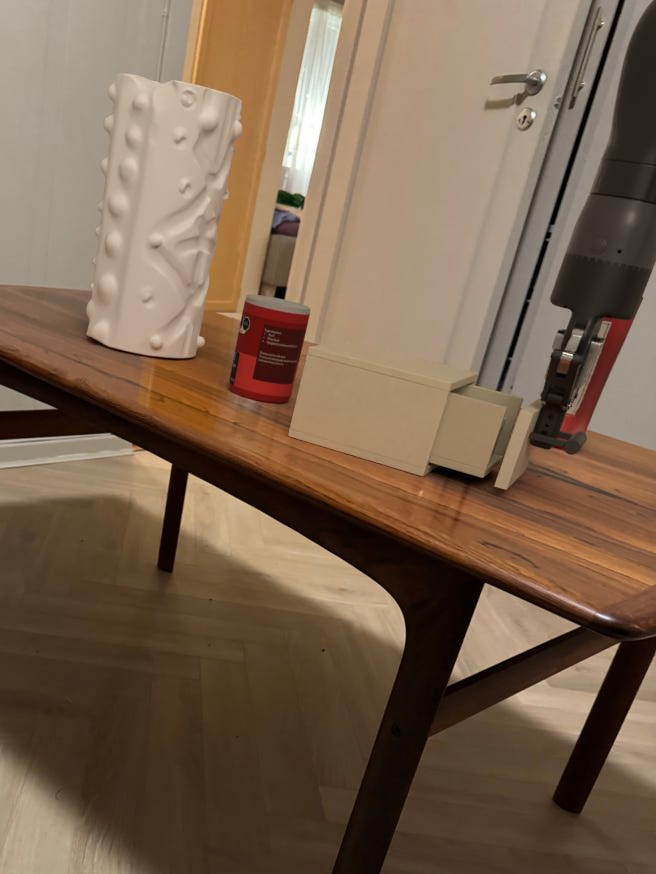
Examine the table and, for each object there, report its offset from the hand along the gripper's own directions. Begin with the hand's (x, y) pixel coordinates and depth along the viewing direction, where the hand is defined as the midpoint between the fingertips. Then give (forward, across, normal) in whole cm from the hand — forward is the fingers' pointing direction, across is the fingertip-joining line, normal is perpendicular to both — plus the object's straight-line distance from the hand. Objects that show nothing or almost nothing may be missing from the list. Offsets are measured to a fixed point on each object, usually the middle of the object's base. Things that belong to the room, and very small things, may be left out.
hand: (540, 446), depth 88 cm
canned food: (+5, +10, +34) cm, 36 cm away
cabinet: (+5, 0, +16) cm, 17 cm away
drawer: (+4, 0, +6) cm, 7 cm away
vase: (+5, +20, +57) cm, 61 cm away
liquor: (+5, +32, +1) cm, 32 cm away
